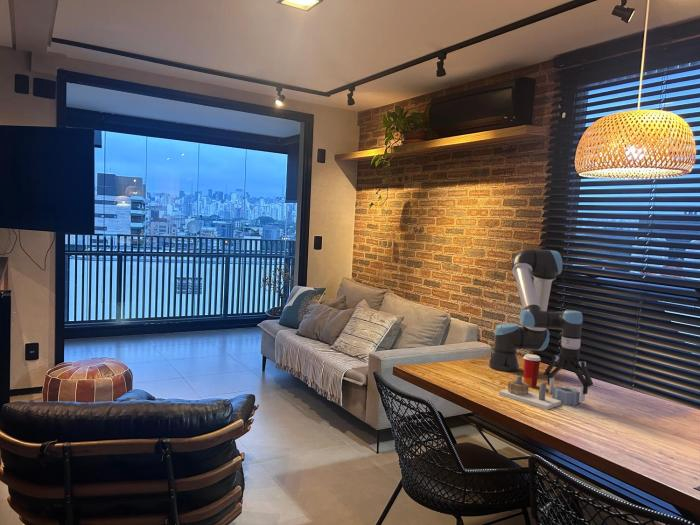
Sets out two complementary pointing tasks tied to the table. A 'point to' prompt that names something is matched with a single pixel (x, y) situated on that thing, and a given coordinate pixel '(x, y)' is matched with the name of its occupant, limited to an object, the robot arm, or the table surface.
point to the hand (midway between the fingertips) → (566, 396)
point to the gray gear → (566, 395)
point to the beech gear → (518, 388)
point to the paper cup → (531, 369)
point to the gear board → (533, 396)
